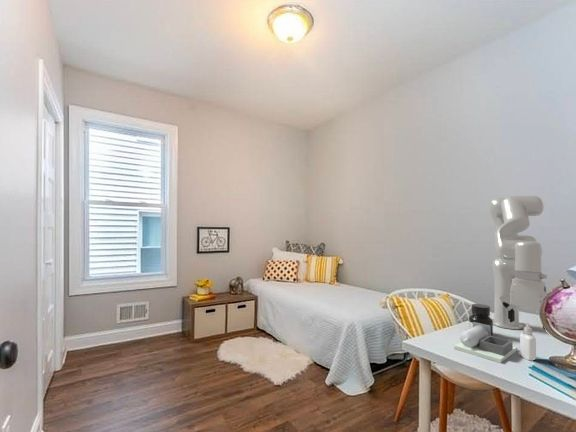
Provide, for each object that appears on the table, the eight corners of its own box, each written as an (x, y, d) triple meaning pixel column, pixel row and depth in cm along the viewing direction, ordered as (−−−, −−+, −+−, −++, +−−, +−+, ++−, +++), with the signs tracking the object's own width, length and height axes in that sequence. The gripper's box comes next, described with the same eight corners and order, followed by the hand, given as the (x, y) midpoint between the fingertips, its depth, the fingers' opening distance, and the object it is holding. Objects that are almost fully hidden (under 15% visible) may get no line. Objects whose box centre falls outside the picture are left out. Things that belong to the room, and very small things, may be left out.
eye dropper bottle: (535, 356, 112) (535, 323, 112) (536, 362, 108) (536, 327, 108) (520, 353, 115) (520, 320, 115) (520, 358, 110) (520, 324, 110)
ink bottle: (464, 332, 137) (464, 304, 137) (473, 328, 142) (473, 302, 142) (488, 339, 129) (488, 309, 129) (497, 335, 134) (497, 306, 134)
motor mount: (473, 338, 129) (473, 320, 130) (517, 350, 118) (517, 330, 118) (454, 348, 118) (454, 329, 118) (500, 363, 106) (500, 341, 107)
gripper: (562, 278, 107) (562, 329, 107) (503, 272, 121) (503, 317, 120) (556, 280, 103) (557, 333, 102) (496, 273, 116) (496, 320, 115)
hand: (528, 324), depth 111 cm, fingers open, 9 cm apart
